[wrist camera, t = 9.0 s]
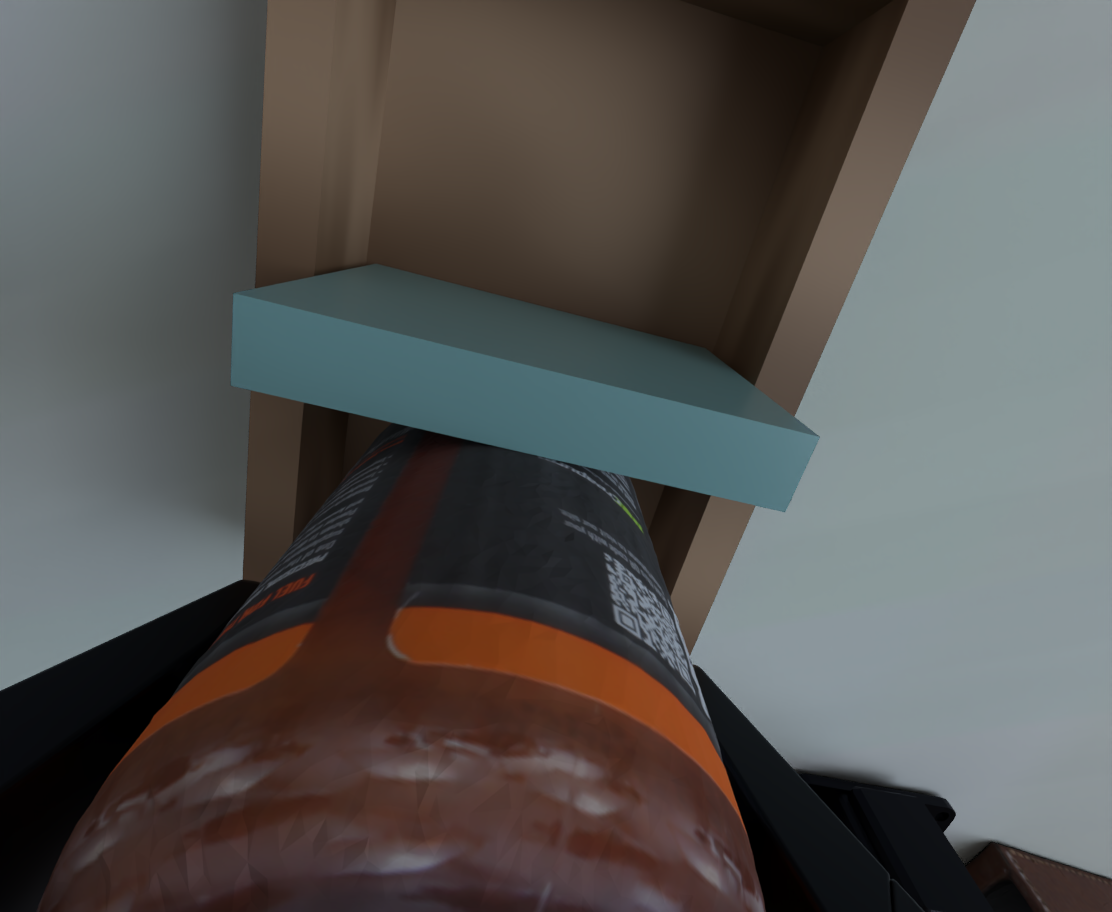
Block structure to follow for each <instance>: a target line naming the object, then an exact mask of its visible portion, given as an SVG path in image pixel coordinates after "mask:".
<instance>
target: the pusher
mask: <svg viewBox="0 0 1112 912" xmlns="http://www.w3.org/2000/svg"><path fill="white" fill-rule="evenodd" d="M231 386H234V387H239V388H243V389H248V390H252V391H256V392H261V393H265V394H269V395H274V396H278V397H283V398H287V399H291V400H296V401H300V402H304V403H309V404H313V405H318V406H322V407H326V408H331V409H335V410H340V411H344V412H348V413H353V414H357V415H361V416H366V417H370V418H375V419H379V420H383V421H388V422H392V423H396V424H401V425H405V426H410V427H414V428H418V429H423V430H427V431H431V432H436V433H440V434H445V435H449V436H453V437H458V438H462V439H466V440H471V441H475V442H480V443H484V444H488V445H493V446H497V447H502V448H506V449H510V450H515V451H519V452H523V453H528V454H532V455H537V456H541V457H545V458H550V459H554V460H558V461H563V462H567V463H572V464H576V465H580V466H585V467H589V468H593V469H598V470H602V471H607V472H611V473H615V474H620V475H624V476H628V477H633V478H637V479H642V480H646V481H650V482H655V483H659V484H664V485H668V486H672V487H677V488H681V489H685V490H690V491H694V492H699V493H703V494H707V495H712V496H716V497H720V498H725V499H729V500H734V501H738V502H742V503H747V504H751V505H755V506H760V507H764V508H769V509H773V510H777V511H782V512H785V511H786V509H787V507H788V505H789V503H790V501H791V498H792V496H793V494H794V492H795V490H796V488H797V485H798V483H799V481H800V479H801V477H802V475H803V472H804V470H805V468H806V466H807V464H808V462H809V459H810V457H811V455H812V453H813V451H814V449H815V446H816V444H817V442H818V440H819V438H820V437H819V436H818V435H817V434H815V433H814V432H813V431H812V430H810V429H809V428H808V427H806V426H805V425H804V424H803V423H801V422H800V421H799V420H797V419H796V418H795V417H794V416H792V415H791V414H790V413H788V412H787V411H786V410H785V409H783V408H782V407H781V406H779V405H778V404H777V403H776V402H774V401H773V400H772V399H770V398H769V397H768V396H767V395H765V394H764V393H763V392H761V391H760V390H759V389H757V388H756V387H755V386H754V385H752V384H751V383H750V382H748V381H747V380H746V379H745V378H743V377H742V376H741V375H739V374H738V373H737V372H736V371H734V370H733V369H732V368H730V367H729V366H728V365H727V364H725V363H724V362H723V361H721V360H720V359H719V358H718V357H716V356H715V355H714V354H712V353H711V352H710V351H709V350H707V349H706V348H702V347H699V346H695V345H691V344H687V343H683V342H679V341H675V340H671V339H667V338H664V337H660V336H656V335H652V334H648V333H644V332H640V331H636V330H632V329H629V328H625V327H621V326H617V325H613V324H609V323H605V322H601V321H597V320H594V319H590V318H586V317H582V316H578V315H574V314H570V313H566V312H562V311H559V310H555V309H551V308H547V307H543V306H539V305H535V304H531V303H527V302H524V301H520V300H516V299H512V298H508V297H504V296H500V295H496V294H492V293H489V292H485V291H481V290H477V289H473V288H469V287H465V286H461V285H457V284H454V283H450V282H446V281H442V280H438V279H434V278H430V277H426V276H422V275H419V274H415V273H411V272H407V271H403V270H399V269H395V268H391V267H387V266H384V265H380V264H372V265H367V266H362V267H357V268H352V269H347V270H343V271H338V272H333V273H328V274H323V275H318V276H314V277H309V278H304V279H299V280H294V281H289V282H284V283H280V284H275V285H270V286H265V287H260V288H255V289H251V290H246V291H241V292H236V293H233V319H232V354H231Z"/></svg>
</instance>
